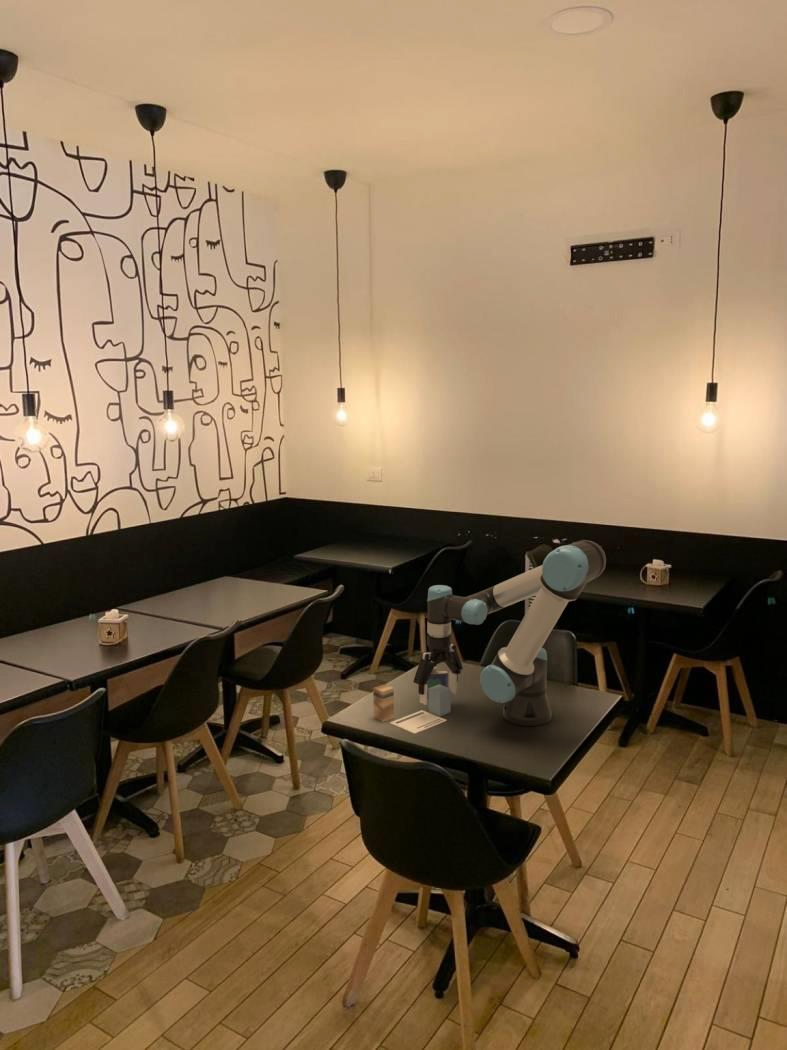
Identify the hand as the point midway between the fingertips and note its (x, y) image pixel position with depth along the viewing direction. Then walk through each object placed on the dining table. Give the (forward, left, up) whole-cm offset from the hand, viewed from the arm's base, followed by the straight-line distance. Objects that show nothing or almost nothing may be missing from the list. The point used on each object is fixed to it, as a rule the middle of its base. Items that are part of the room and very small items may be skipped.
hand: (438, 697), depth 254 cm
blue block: (0, 0, -5) cm, 5 cm away
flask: (+10, -8, -5) cm, 13 cm away
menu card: (-1, +10, -5) cm, 12 cm away
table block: (+9, +16, -5) cm, 19 cm away
